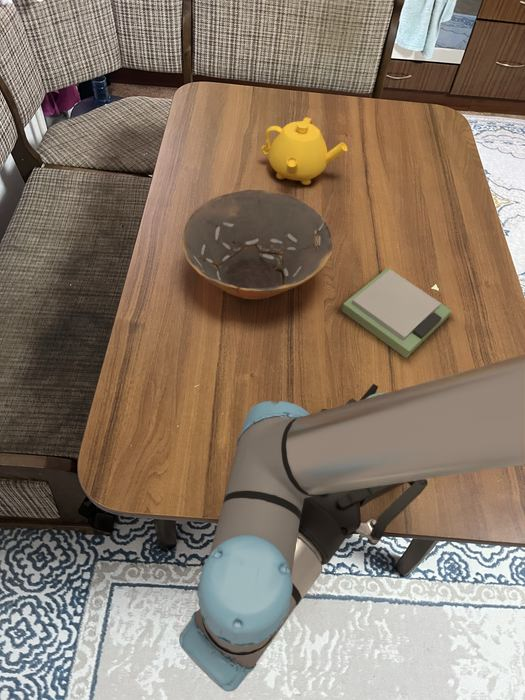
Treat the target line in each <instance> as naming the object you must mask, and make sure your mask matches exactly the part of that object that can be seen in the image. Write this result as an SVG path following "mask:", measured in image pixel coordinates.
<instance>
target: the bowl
mask: <svg viewBox="0 0 525 700" xmlns="http://www.w3.org/2000/svg"><path fill="white" fill-rule="evenodd" d="M181 243H182V244H181V247H182V250H183V252H184V255H185V259H186V261H187V262H188V263H189V265H190V266H191V267H192V268H193V269H194V271H196V272H197V274H199V275H200V276H201V277H202V278H203V279H205V280H206V281H208V282H209V283H211V284H212V285H213V286H215V287H217V288H219V289H220V290H222V291H224V292H225V293H227V294H230V295H232V296H234V297H237V298H240V299H245V300H261V299H267V298H271V297H275V296H277V295H279V294H282V293H285V292H287V291H290V290H292V289H294V288H296V287H299V286H300V285H303V284H304V283H306V282H308V281H309V280H310V279H312V278H313V277H314V276H315V275H316V274H318V273H319V272H321V270H322V269H323V268H324V267H325V265H326V263H327V262H328V260H329V259H330V257H331V255H332V253H333V240H332V232H331V230H330V227H329V226H328V224H327V222H326V220H325V219H324V217H323V216H322V215H321V214H320V213H319V212H318V211H317V209H315V208H313V207H312V206H310V205H309V204H308V203H306V202H305V200H302V199H300V198H297V197H295V196H292V195H290V194H287V193H282V192H277V191H271V190H264V189H245V190H244V189H243V190H239V191H235V192H234V191H232V192H229V193H225V194H224V193H223V194H221V195H218V196H215V197H213V198H211V199H210V200H208V201H206V202H204V203H203V204H202V205H200V206H199V207H198V208H196V209H195V210H194V211H193V212H192V213H191V214H190V216H189V217H188V219H187V220H186V222H185V223H184V228H183V232H182V237H181ZM283 278H284V279H283Z"/></svg>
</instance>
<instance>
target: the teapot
mask: <svg viewBox="0 0 525 700" xmlns="http://www.w3.org/2000/svg"><path fill="white" fill-rule="evenodd" d="M271 132H276V133H277V135H276V136H275V137H274V139H273V141H272V142H271V138H270V135H271V134H270V133H271ZM347 151H348V146H347V144H346V143H345V142H343V141H341V142H340V143H338V144H337V145H336V146H334V147H333V148H332V149H330V150H329V151H328V148H327V144H326V141H325V139H324V137H323V134H322V132H321V131H320V129H319V128H318V127H317V126H315V125H314V124H313V120H312V118H310V117H307V116H305V117H304V118H303V120H300V121H299V120H298V121H293V122H289V123H287V124H286V125H285V126H284V127H281V126H279V125H270V126H269V127H268V128H267V129H266V131H265V144H263V145H262V146H261V153H262V154H263V155H265V156H268V161H269V164H270V166H271V167H272V169H273V170H274V171H275V172H276V174H275V176H276V178H277V179H278V180H284V179H288V180H291V181H297V182H299V181H300V183H301V184H302V185H306V186H308V185H310V184H312V179H314V178H316V177H317V176H319V175H321V174H322V173H323V172H325V171H324V170H325V169H326V168H327V167H328V164H330V163H331V162H333V161H334V160H335V159H337V158H338V157H340V156H341V155H343V154H345V153H346V152H347Z"/></svg>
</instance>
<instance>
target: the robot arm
mask: <svg viewBox="0 0 525 700" xmlns="http://www.w3.org/2000/svg"><path fill="white" fill-rule="evenodd" d="M378 389H379V385H377V384H375V383H372V385H371V386H370V387H369V388H368V390H367V391H366V392H365V393H364V394H363V395H362V396H361V398H360V399H359V400H356V399H354V398H351V399H348V401H347V402H346V403H345V404H342V405H339V406H335V407H331V408H328V409H327V408H322V409H321V410H320V411H317V412H314V413H309V411H307V410H306V409H304V408H303V407H302V406H300V405H298V404H296V403H292V402H288V401H284V400H279V401H278V402H276V401H275V402H274V401H272V400H267V401H266V400H265V401H261V402H258V403H257V404H255V405H253V406H252V407H251V408H250V409H249V410H248V412H247V414H246V416H245V419H244V422H243V425H242V429H241V431H240V433H239V434H238V436H237V441H236V448H235V452H234V456H233V460H232V464H231V470H230V472H229V477H228V482H227V486H226V490H225V494H224V497H223V502H222V506H221V509H220V512H219V517H218V521H217V525H216V528H215V532H214V536H213V539H212V544H211V548H210V552H209V555H208V557H207V559H206V560H205V562H204V563H203V566H202V567H201V573H200V579H199V582H198V584H197V590H196V591H197V595H196V596H197V597H198V602H197V604H198V606H199V608H198V609H197V610H196V611H194V612H193V614H192V615H191V618H190V620H188V623H187V624H186V625H185V627H184V628H183V629H182V631H181V632H180V634H179V638H178V644H179V646H180V647H181V650H183V651H184V653H185V654H186V655H187V656H188V658H190V660H191V661H193V663H194V664H195V665H196V666H197V667H198V668H199V669H200V670H201V672H203V673H204V674H205V675H206V676H207V677H208V678H209V679H210V680H211V681H212V682H213V683H214V684H215V685H216V686H218V687H219V688H220V689H221V690H223V691H225V692H229V693H230V692H234V691H235V690H236V689H238V688H239V687H240V685H241V684H242V683H243V681H244V680H245V679H246V678H247V676H248V675H249V674H251V673H252V671H254V670H255V668H256V666H257V663H258V662H259V661H260V659H261V658H262V656H263V655H264V653H266V651H267V649H268V647H270V645H271V643H272V642H273V641H274V639H275V638H276V637H277V635H278V634H279V632H280V631H281V629H283V628H282V627H284V625H285V623H286V622H287V621H288V619H289V617H290V616H291V614H292V613H293V612H294V610H295V609H296V607H298V605H299V604H300V602H301V601H302V600H303V599H304V598H305V596H306V595H307V594H308V592H309V591H310V589H311V588H312V586H314V584H315V582H316V581H317V579H318V578H319V577H320V575H321V574H322V572H323V566H324V565H325V566H326V565H328V564H329V563H330V561H331V560H332V559H333V558H334V556H335V554H336V553H337V551H338V550H339V549H340V547H341V546H342V544H344V542H345V540H346V539H347V538H348V537H349V536H351V535H354V534H356V533H357V534H358V535H361V536H362V537H364V538H366V539H367V542H368V544H370V545H371V546H376V545H377V544H378V543H379V542H380V541H381V540H382V538H383V536H384V534H385V532H386V529H387V527H388V526H389V525H390V524H391V523H392V522H394V520H395V519H396V518H397V517H398V516H399V515H400V514H401V513H403V511H404V510H405V509H406V508H407V507H408V506H409V505H410V504H411V503H412V502H413V501H414V500H416V499H417V497H419V496H420V495H421V494H422V493H423V491H424V490H425V488H426V487H427V486H428V485H429V484H428V480H429V479H437V478H444V477H450V476H457V475H464V474H470V473H476V472H477V473H478V472H483V471H492V470H499V469H504V468H511V467H518V466H524V465H525V353H524V354H521V355H517V356H514V357H511V358H506V359H504V360H503V359H502V360H500V361H496V362H492V363H489V364H485V365H481V366H479V367H475V368H471V369H467V370H463V371H460V372H457V373H456V372H455V373H454V374H449V375H446V376H442V377H438V378H436V379H431V380H428V381H424V382H421V383H417V384H414V385H409V386H406V387H403V388H400V389H396V390H393V391H389V392H388V391H387V392H388V393H385V394H381V395H378V396H374V397H371V398H367V397H368V396H370V395H372V394H375V393H377V391H378ZM366 398H367V399H366ZM405 484H408V485H409V487H408V488H407V489H405V490H404V492H402V493H401V494H400V495H399V497H397V498H396V499H395V500H394V501H393V502H392V503H391V504H390V505H389V506H388V507H387V508H385V510H383V512H381V514H380V515H379V516H378V517H377V519H375V518H370V519H368V521H367V522H362V516H361V515H362V514H361V508H362V507H364V506H365V505H367V504H368V503H369V502H371V501H373V500H376V499H378V498H379V497H381V496H384V495H385V494H387V493H389V492H391V491H393V490H395V489H397V488H399V487H401V486H402V485H405Z"/></svg>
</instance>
